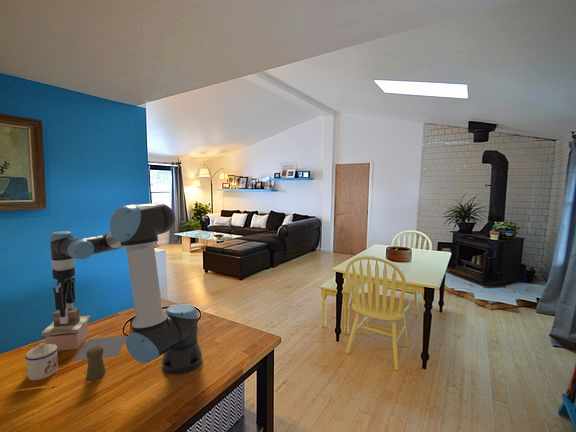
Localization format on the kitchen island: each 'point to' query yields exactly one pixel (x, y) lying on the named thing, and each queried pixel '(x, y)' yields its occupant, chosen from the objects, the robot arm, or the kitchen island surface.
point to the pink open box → (68, 339)
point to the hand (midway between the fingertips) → (67, 320)
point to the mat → (108, 344)
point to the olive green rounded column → (95, 364)
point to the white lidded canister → (42, 361)
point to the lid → (72, 326)
